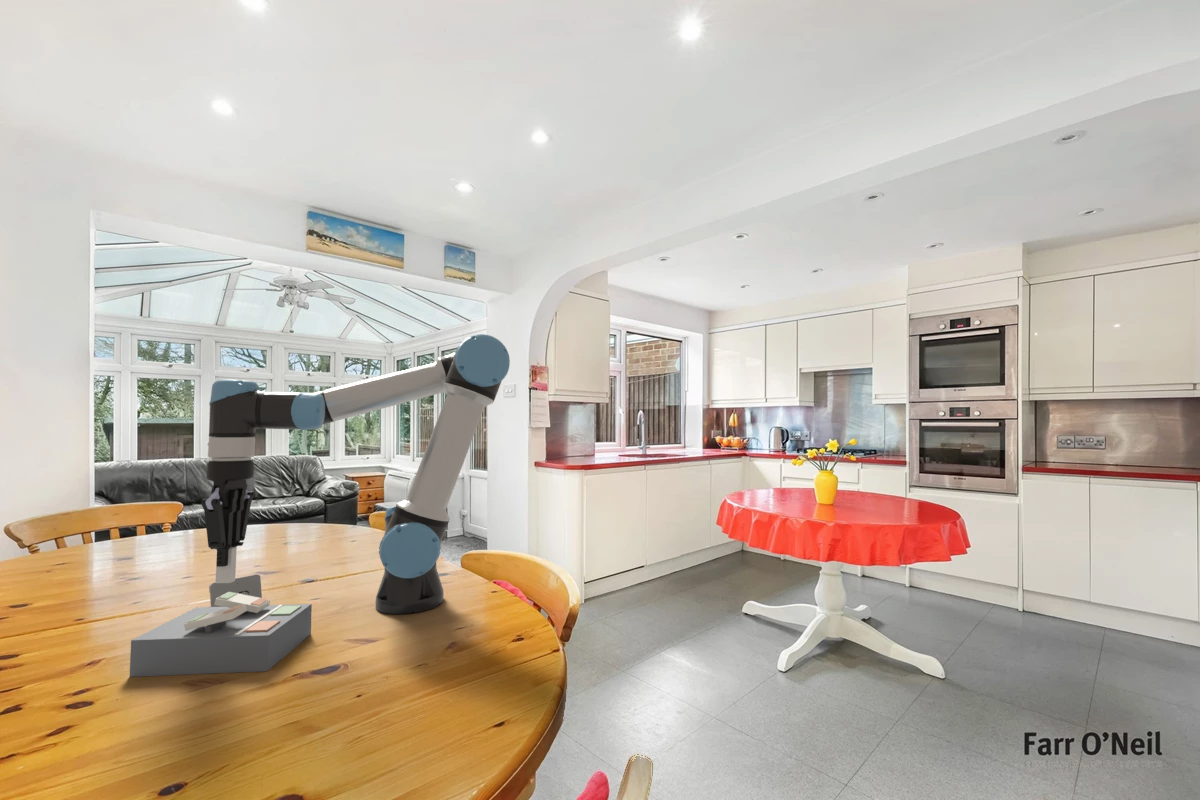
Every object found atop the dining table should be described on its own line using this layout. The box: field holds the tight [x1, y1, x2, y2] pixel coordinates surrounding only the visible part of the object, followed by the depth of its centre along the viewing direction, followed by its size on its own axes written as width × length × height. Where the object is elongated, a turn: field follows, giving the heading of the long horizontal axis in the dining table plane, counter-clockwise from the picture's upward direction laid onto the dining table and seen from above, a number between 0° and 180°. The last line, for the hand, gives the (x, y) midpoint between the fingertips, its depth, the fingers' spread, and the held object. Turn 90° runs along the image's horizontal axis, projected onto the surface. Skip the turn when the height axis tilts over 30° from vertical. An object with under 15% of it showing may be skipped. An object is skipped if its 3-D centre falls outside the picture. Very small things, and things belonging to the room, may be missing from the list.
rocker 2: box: [214, 592, 271, 613], centre depth 101 cm, size 8×4×1 cm, turn 95°
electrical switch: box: [208, 573, 263, 607], centre depth 113 cm, size 9×5×9 cm, turn 141°
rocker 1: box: [184, 604, 247, 631], centre depth 93 cm, size 8×4×1 cm, turn 96°
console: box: [129, 603, 313, 678], centre depth 96 cm, size 22×16×7 cm
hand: (225, 581), depth 100 cm, fingers closed
